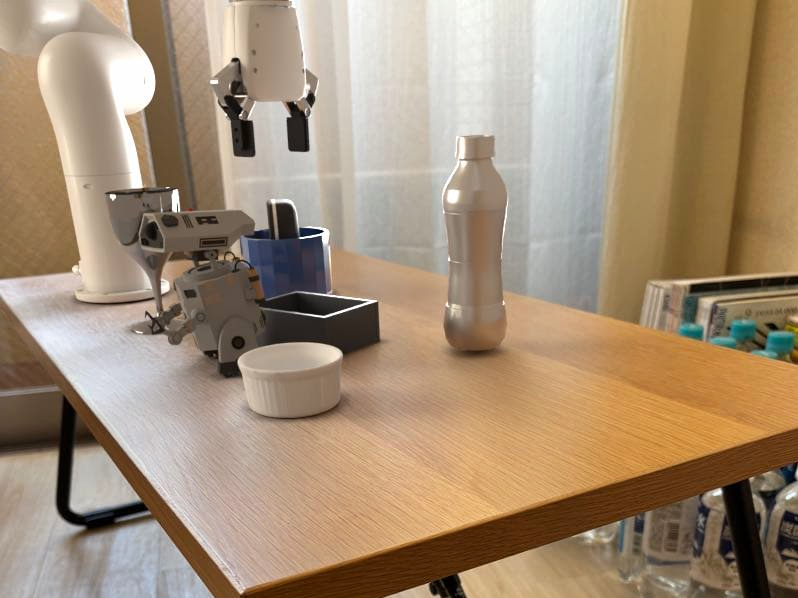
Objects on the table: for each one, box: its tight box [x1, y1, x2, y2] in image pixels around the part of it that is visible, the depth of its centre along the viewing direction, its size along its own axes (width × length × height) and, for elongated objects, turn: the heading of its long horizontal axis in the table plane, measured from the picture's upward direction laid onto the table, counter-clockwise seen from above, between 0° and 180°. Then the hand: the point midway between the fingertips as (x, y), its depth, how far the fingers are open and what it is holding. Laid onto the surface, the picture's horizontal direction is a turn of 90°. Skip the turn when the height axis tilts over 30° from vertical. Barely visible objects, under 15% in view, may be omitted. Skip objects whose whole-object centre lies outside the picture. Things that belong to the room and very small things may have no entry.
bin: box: [256, 291, 381, 356], centre depth 95 cm, size 9×12×4 cm
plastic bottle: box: [441, 134, 509, 352], centre depth 87 cm, size 6×7×20 cm
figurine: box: [139, 207, 268, 378], centre depth 86 cm, size 9×12×15 cm
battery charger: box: [265, 198, 300, 240], centre depth 116 cm, size 7×4×11 cm, turn 9°
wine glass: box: [105, 186, 185, 335], centre depth 102 cm, size 8×8×15 cm
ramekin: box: [238, 342, 344, 419], centre depth 77 cm, size 9×9×4 cm
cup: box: [238, 226, 334, 299], centre depth 117 cm, size 11×11×8 cm
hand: (272, 154), depth 111 cm, fingers open, 9 cm apart
